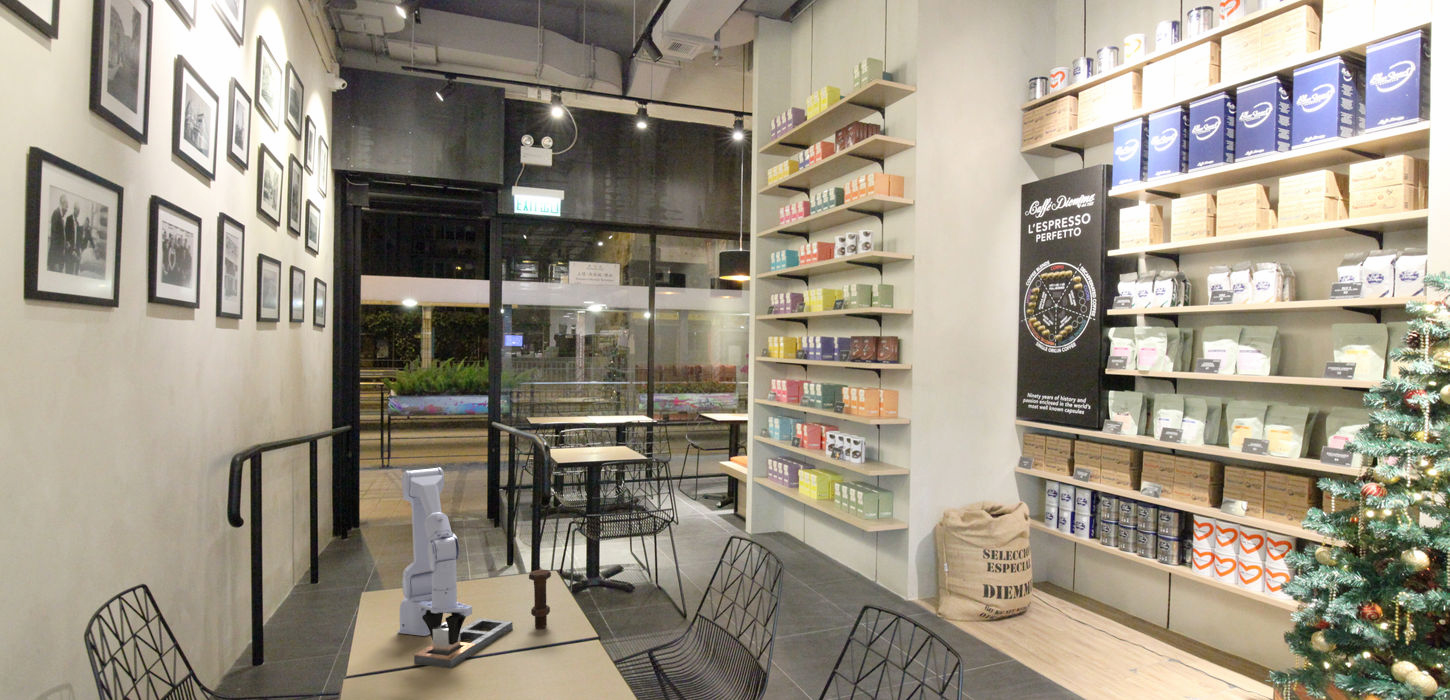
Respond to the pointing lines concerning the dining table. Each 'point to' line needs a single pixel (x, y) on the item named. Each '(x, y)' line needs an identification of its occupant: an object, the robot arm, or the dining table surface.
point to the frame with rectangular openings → (466, 649)
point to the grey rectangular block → (443, 641)
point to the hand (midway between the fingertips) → (445, 642)
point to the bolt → (540, 597)
